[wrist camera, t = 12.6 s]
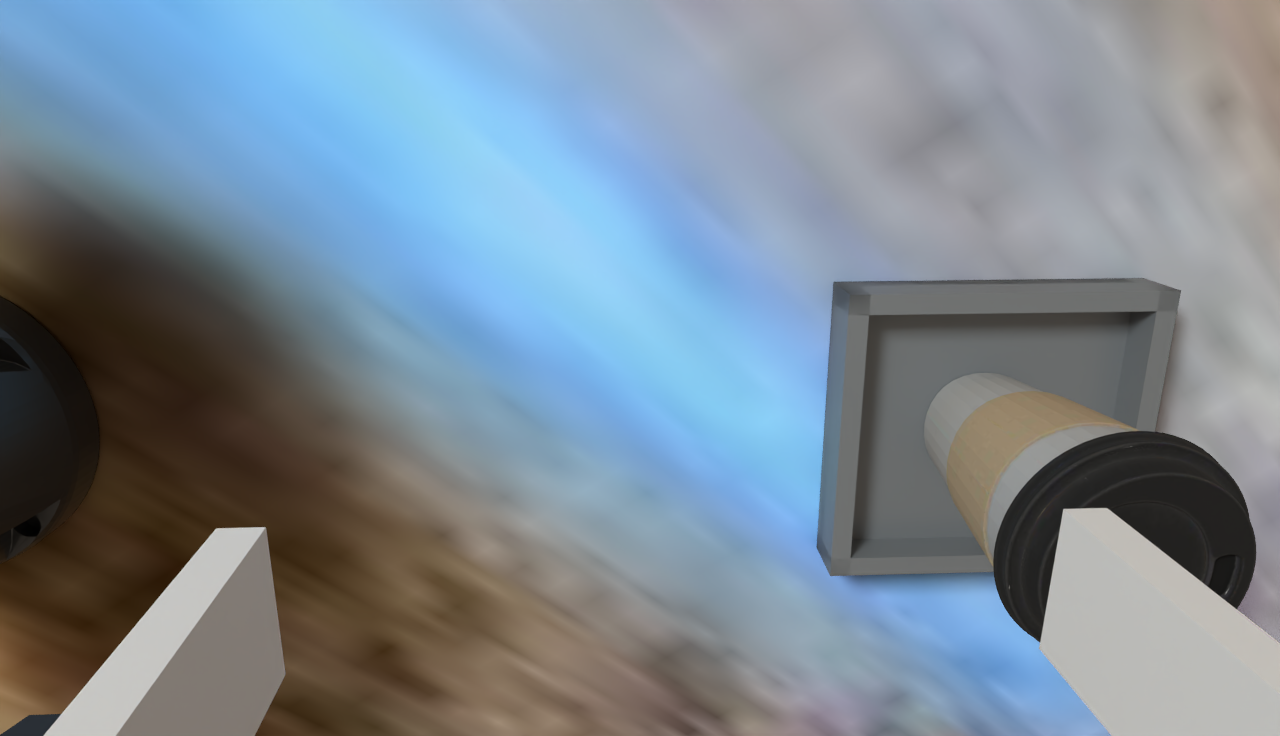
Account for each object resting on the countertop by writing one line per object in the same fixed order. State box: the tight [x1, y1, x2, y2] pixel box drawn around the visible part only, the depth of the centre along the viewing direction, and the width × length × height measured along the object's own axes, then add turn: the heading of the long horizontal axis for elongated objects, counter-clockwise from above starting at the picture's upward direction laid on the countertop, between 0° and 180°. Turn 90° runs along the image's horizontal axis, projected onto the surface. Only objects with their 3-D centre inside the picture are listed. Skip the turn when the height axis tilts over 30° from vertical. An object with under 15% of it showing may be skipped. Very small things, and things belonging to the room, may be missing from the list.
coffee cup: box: [924, 373, 1256, 642], centre depth 38 cm, size 9×9×15 cm
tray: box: [817, 278, 1181, 576], centre depth 45 cm, size 16×15×3 cm
